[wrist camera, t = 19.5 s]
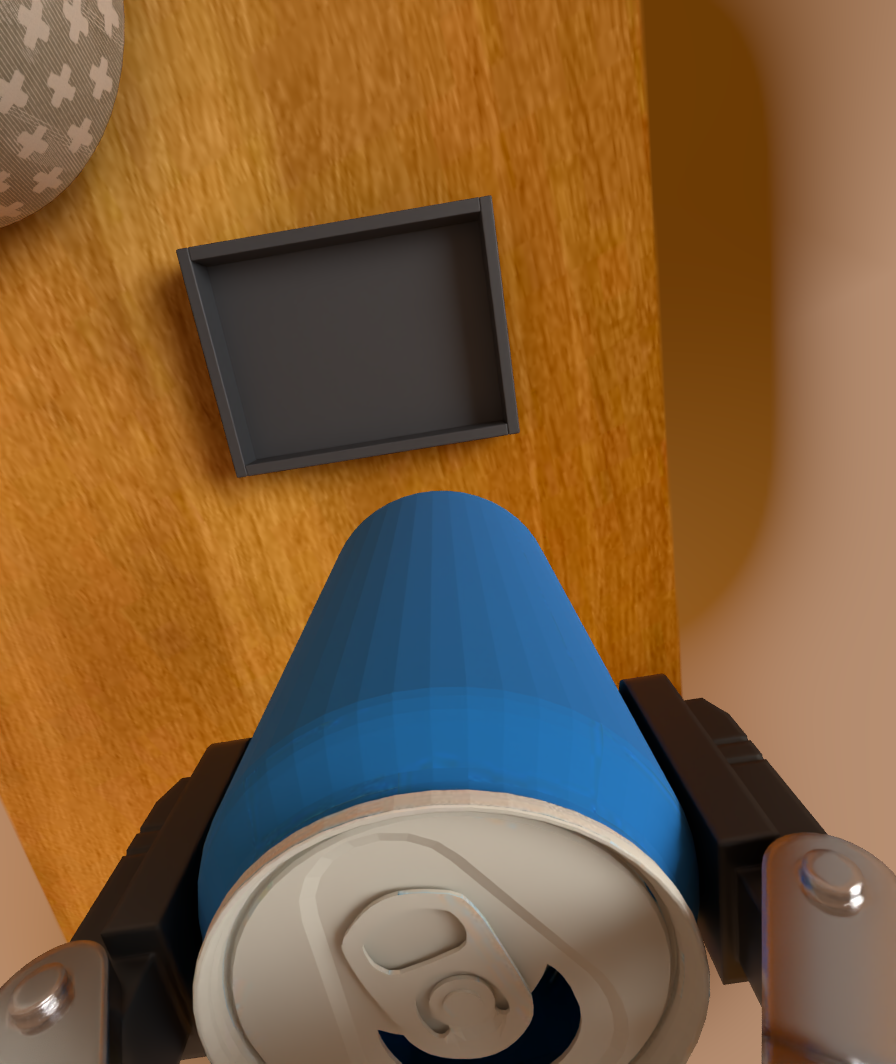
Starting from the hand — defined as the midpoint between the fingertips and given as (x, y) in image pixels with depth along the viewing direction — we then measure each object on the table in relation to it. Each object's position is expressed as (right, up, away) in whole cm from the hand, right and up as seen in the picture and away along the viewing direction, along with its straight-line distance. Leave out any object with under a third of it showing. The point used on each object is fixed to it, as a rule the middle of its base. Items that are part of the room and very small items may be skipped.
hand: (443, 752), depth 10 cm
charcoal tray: (-5, +14, +21) cm, 25 cm away
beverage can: (0, +2, +8) cm, 8 cm away
